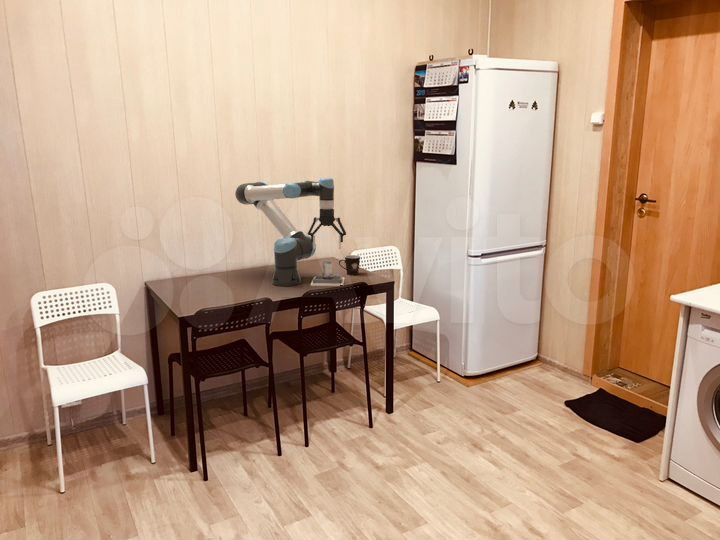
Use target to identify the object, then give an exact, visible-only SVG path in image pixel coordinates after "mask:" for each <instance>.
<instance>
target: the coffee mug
mask: <svg viewBox="0 0 720 540" xmlns="http://www.w3.org/2000/svg"><path fill="white" fill-rule="evenodd" d="M360 260H361V256H360V255H356V254H355V255H354V254H349V255H345V256H344V259H339V262H338V265H339V266H340V268H343V269H344V270H345V271H346V275H348V276H357V275H359V271H360ZM342 261H343V262H344V263H345V267H344V266H343V265H341V262H342Z"/></svg>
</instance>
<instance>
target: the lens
mask: <svg viewBox="0 0 720 540" xmlns="http://www.w3.org/2000/svg"><path fill="white" fill-rule="evenodd" d="M321 276H322V278H323V279H333V276H334V262H333V261H323V262H322V275H321Z"/></svg>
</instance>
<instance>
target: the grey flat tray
mask: <svg viewBox="0 0 720 540" xmlns="http://www.w3.org/2000/svg"><path fill="white" fill-rule="evenodd" d="M322 276H323V275H314V276H313V278H312V280H311V281H310V282H311V283H310V287H341V286H340V285H343V286H344V283H345V277H343V275H333V279H323V278H322Z"/></svg>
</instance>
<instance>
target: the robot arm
mask: <svg viewBox="0 0 720 540" xmlns="http://www.w3.org/2000/svg"><path fill="white" fill-rule="evenodd" d="M334 194H335V183H334V179H333V178H331V177H322V178H321V177H320V178H319V179H318V181H314V180H313V181H312V180H311V181H310V180H303V181H301V182H289V183H279V184H278V183H277V184H269V183H268V182H265V181H257V182H248V183H245V182H244V183H242V184H240V185H239V186H237V187H236V189H235V199H236V201H238V203H240V204H242V205H245V206H246V205H247V206H248V205H254V207H255V208H256V209H257V210H259V211H261V212H262V213H263V214H264V215H265V217H267V219H268V220H269V222H270V223H271V224H272V225H273V226H274V228H275V229H276V230H277V231H278V232H279V234H280V235H281V237H283V238H279V239H276V240H275V242H274V245H273V251H274V252H273V254H274V272H273V275H272V278H271V281H272V282H271V283H272V285H274V286H278V287H291V286H297V285H299V284H301V282H302V280H301V279H302V278H301V275H300V273H299V270H298V261H302V260H306V259H309V258H312V257H313V256H314V255H315V253H316V250H317V244H316V235H315V234H316V233H317V232H318V231H319V229H320V228H321V227H332V228H333V229H334V230H335V232H336V233H337V234H338V235H339V236H338V249H339V250H341V249H342V244H341V243H343V242H344V236H346V235H347V232H346V229H345V227H344V226H343V223H342V222H341V217H340V216H338V217H335V198H334V197H335V195H334ZM312 196H313V197H318V198H319V217H316V216H314V217H313V222H312V223H311V226H310V227H309V229H308V231H307V235H306V234H305V233H304V232H303V231H302V230H298V229H297V228H296V226H295V225H294V224H293V223H292V221H291V220H290V219H289V217H287V216H286V214H285V213H284V212H283V210H282V209H281V208H280V207H279V206H278V204H277V203H276V202H275V201H274V200H282V199H283V200H284V199H298V198H304V197H305V198H306V197H312ZM318 221H319V225H318V226H317V227H316V228H315V229H314V230H313V228H314V227H315V225H316V223H317V222H318ZM335 221H336V222H337V223H338V226H339V227H337V226H336V224H335ZM339 228H340V229H339Z"/></svg>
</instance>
